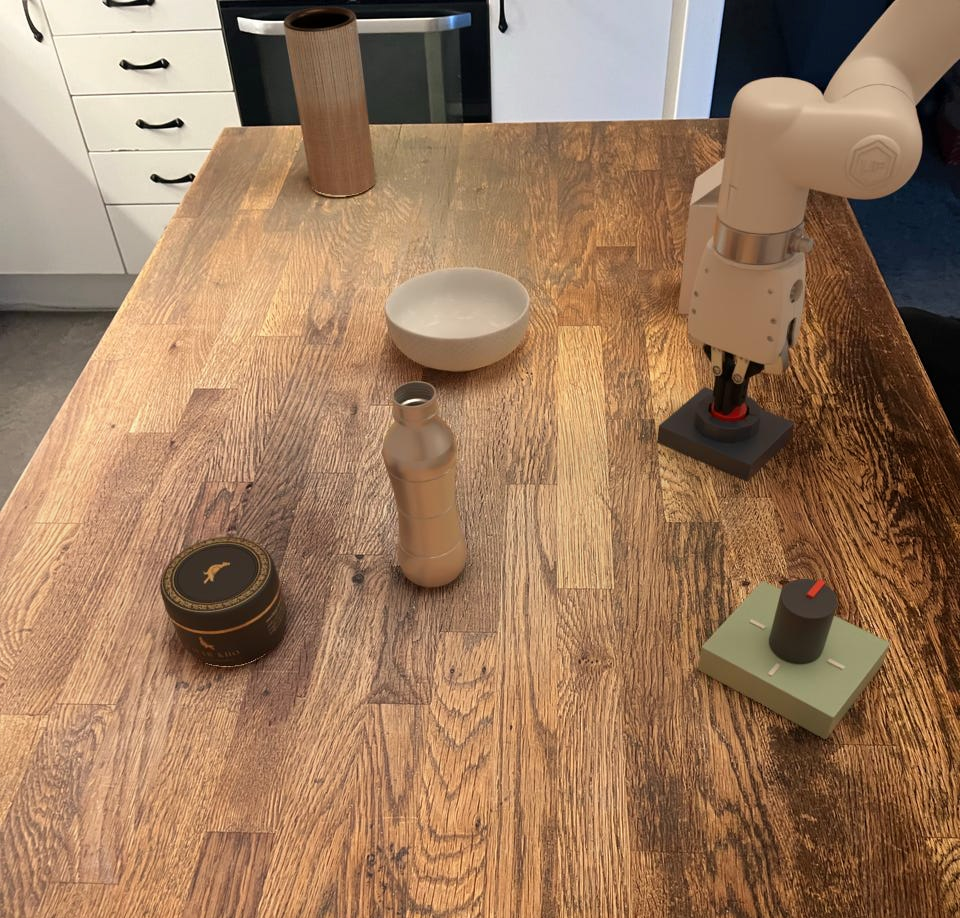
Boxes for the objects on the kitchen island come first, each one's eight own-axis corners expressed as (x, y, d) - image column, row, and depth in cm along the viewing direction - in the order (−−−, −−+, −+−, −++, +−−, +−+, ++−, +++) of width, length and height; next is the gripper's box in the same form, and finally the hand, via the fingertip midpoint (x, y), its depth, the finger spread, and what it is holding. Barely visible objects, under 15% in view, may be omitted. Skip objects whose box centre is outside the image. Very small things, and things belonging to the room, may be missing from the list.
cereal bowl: (551, 332, 122) (552, 278, 117) (496, 406, 112) (494, 350, 107) (429, 307, 128) (424, 255, 122) (365, 376, 118) (357, 322, 112)
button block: (790, 439, 106) (798, 407, 103) (747, 482, 102) (753, 450, 99) (702, 403, 111) (706, 372, 108) (656, 442, 107) (660, 411, 104)
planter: (309, 175, 156) (281, 10, 139) (372, 167, 157) (352, 2, 140) (313, 202, 150) (284, 33, 133) (379, 194, 150) (359, 24, 134)
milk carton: (675, 326, 122) (693, 168, 108) (682, 297, 126) (699, 142, 112) (735, 331, 120) (760, 172, 106) (739, 302, 125) (764, 145, 111)
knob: (807, 672, 81) (822, 623, 76) (758, 647, 83) (770, 599, 78) (832, 640, 83) (848, 591, 78) (785, 617, 85) (798, 568, 80)
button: (750, 419, 104) (753, 405, 103) (732, 435, 103) (735, 421, 101) (721, 407, 106) (723, 393, 105) (702, 423, 104) (704, 409, 103)
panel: (881, 666, 85) (891, 641, 82) (825, 740, 80) (834, 716, 77) (756, 603, 90) (762, 578, 88) (696, 669, 85) (701, 645, 83)
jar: (165, 670, 88) (139, 610, 82) (201, 590, 95) (180, 530, 89) (274, 678, 87) (255, 618, 81) (303, 597, 93) (287, 536, 88)
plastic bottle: (481, 561, 96) (470, 382, 81) (444, 606, 92) (425, 427, 77) (425, 540, 98) (403, 362, 83) (386, 583, 94) (357, 405, 79)
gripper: (853, 242, 88) (810, 415, 101) (707, 198, 95) (685, 366, 108) (812, 276, 84) (773, 451, 98) (663, 228, 91) (646, 398, 105)
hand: (727, 406), depth 103 cm, fingers closed
